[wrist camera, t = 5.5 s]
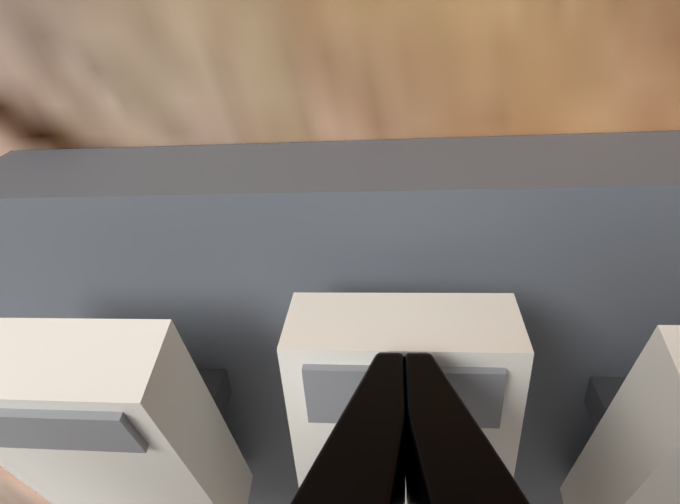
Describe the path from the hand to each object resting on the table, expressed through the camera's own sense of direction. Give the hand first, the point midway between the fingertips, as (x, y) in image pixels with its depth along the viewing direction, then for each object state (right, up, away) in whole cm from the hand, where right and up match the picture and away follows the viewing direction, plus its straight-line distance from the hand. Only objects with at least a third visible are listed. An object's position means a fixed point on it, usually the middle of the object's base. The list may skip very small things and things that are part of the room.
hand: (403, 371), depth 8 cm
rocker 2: (0, -2, +2) cm, 3 cm away
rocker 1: (-6, -2, +3) cm, 7 cm away
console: (+1, 0, +7) cm, 7 cm away
